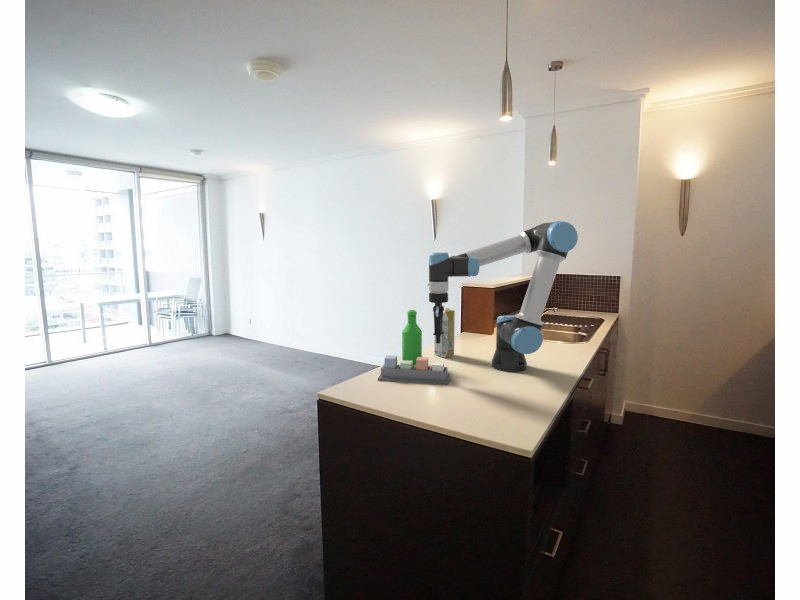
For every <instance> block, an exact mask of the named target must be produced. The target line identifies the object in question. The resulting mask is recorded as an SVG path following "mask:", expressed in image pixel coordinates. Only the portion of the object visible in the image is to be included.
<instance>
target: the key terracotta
mask: <svg viewBox="0 0 800 600" xmlns="http://www.w3.org/2000/svg"><path fill="white" fill-rule="evenodd" d="M428 366H429V357H425V356H422V357H417V359H416V370H427V371H428Z"/></svg>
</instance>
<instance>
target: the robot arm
mask: <svg viewBox="0 0 800 600" xmlns="http://www.w3.org/2000/svg"><path fill="white" fill-rule="evenodd" d="M576 229H577V228H576V227H575V226H574V225H573V224H571V223H570V222H568V221H561V220H557V221H553V222H552V221H551V222H544V223H541V224H538V225H536V226H534V227H532V228H529V229H527V230H524V231H521V232H520V233H519V234H518V235H516V236H513V237H510V238H507V239H504V240H501V241H497V242H494V243H490V244H488V245H484V246H482V247H480V248H479V247H478V248H476V249H472V250H470V251H466V252H464V253H461V254H458V255H452V256H449V253H448V252H431V253H429V260H428V283H427V287H428V291H429V293H428V302H429V303H432V304H433V303H434V306H433V307H432V312H433V328H434V332H433V333H432V335H433V336H434V342H435V351H442V334H444V332H442V330H443V329H442V323H443V310H444V307H445V306H444V305H443V304H444V303H448V302H449V293H448V292H449V278H452V277H469V278H470V277H477V276H478V275H479V273H480V267H482V266H483V267H484V266H486V265H489V264H493V263H495V262H498V261H502V260H505V259H509V258H511V257H513V256H517V255H520V254H523V253H525V254H531V253H534V252H536V254H537V256H538V257H537V259H536V263H535V266H534V269H533V272H532V275H531V277H530V281H529V284H528V286H527V290H526V292H525V295H524V298H523V302H522V305H521V307H520V311H519V313H516V314H514V315H500V316H498V317H497V319H496V322H495V323H496V324H495V325H496V331H495V332H496V336H495V343H496V345H495V350H494V351H495V352H494V353H493V356H492V359H491V368H493V369H496V370H498V371H499V370H500V371H503V372H522V371H525V370H527V367H528V364H527V358H526V355H531V354H533V353H535V352H537V351H538V350H539V349H541V348H540V347H542V345H543V342H544V341H543V340H544V336H543V334H542V329H543V325H544V324H543V322H542V316H543V313H544V310H545V307H546V305H547V302H548V300H549V299H548V298H549V296H550V292H551V291H552V287H553V285H554V282H555V279H556V275H557V272H558V270H559V267H560V264H561V262H563V261H565V260H566V259H567V256H568V254H569V252H570V251H571V250H573V249H574V248H575V247H576V245H577V244H578V238H579V236H578V231H577V230H576Z"/></svg>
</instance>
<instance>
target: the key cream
mask: <svg viewBox="0 0 800 600" xmlns="http://www.w3.org/2000/svg"><path fill="white" fill-rule="evenodd" d="M431 366H432V371H444V367H445V361H443V362H442V361H433V362H432V364H431Z"/></svg>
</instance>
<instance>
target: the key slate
mask: <svg viewBox="0 0 800 600" xmlns="http://www.w3.org/2000/svg"><path fill="white" fill-rule="evenodd" d="M384 364H385V368H391V369H397V365H398V355H386V356H385V357H384Z"/></svg>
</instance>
